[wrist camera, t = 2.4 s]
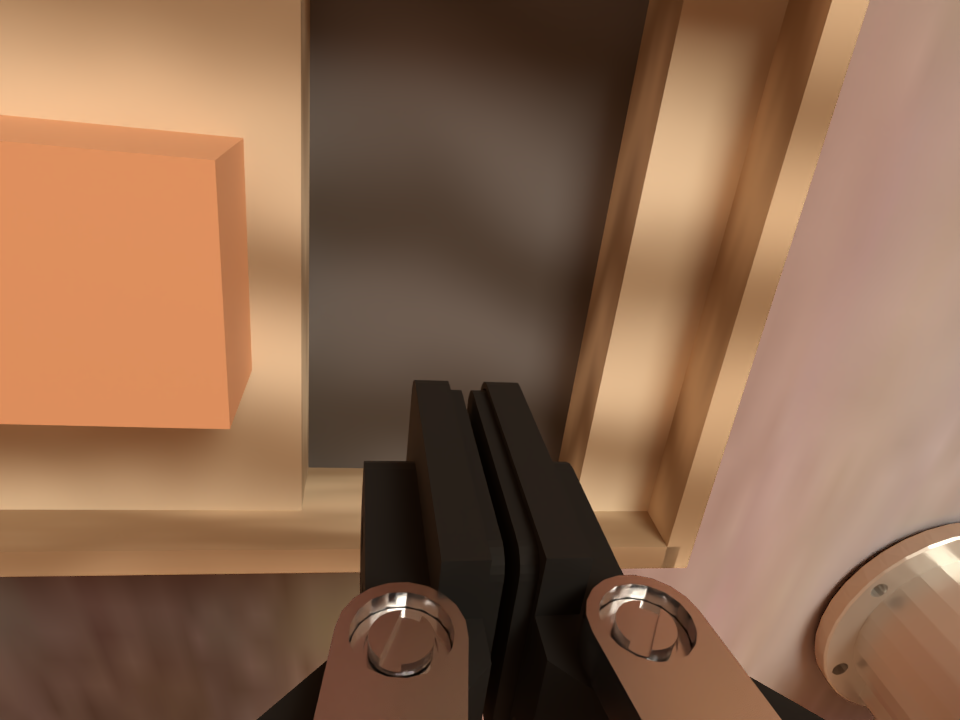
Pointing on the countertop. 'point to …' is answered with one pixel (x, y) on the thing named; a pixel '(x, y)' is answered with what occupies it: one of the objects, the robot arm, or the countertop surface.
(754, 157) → the trap box
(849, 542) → the countertop surface
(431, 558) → the robot arm
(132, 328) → the terracotta block
